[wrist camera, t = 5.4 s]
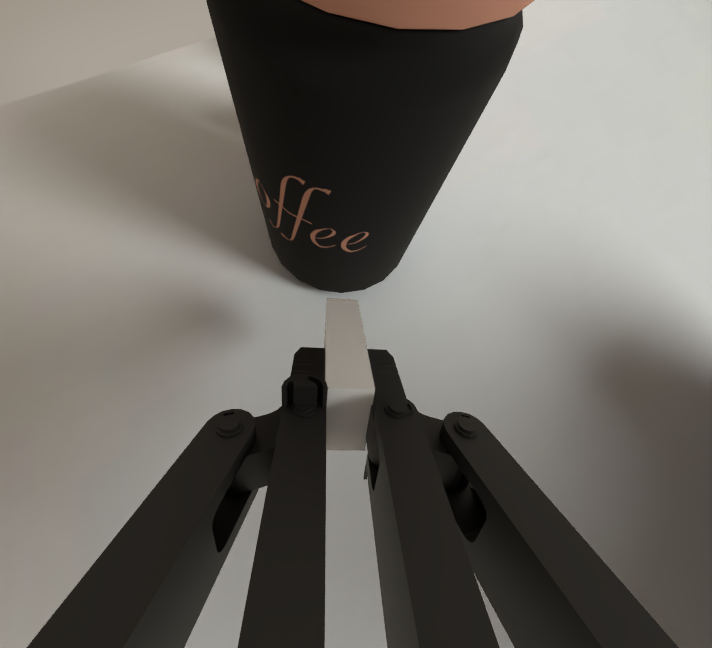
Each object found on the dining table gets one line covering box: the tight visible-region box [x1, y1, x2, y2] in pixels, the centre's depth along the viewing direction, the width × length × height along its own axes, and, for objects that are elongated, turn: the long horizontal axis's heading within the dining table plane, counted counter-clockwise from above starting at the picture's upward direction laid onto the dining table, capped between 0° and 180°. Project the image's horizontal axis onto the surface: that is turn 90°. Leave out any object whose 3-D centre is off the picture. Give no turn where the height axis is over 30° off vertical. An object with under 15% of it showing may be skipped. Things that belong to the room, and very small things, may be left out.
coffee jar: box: [207, 0, 534, 293], centre depth 16 cm, size 11×11×18 cm
